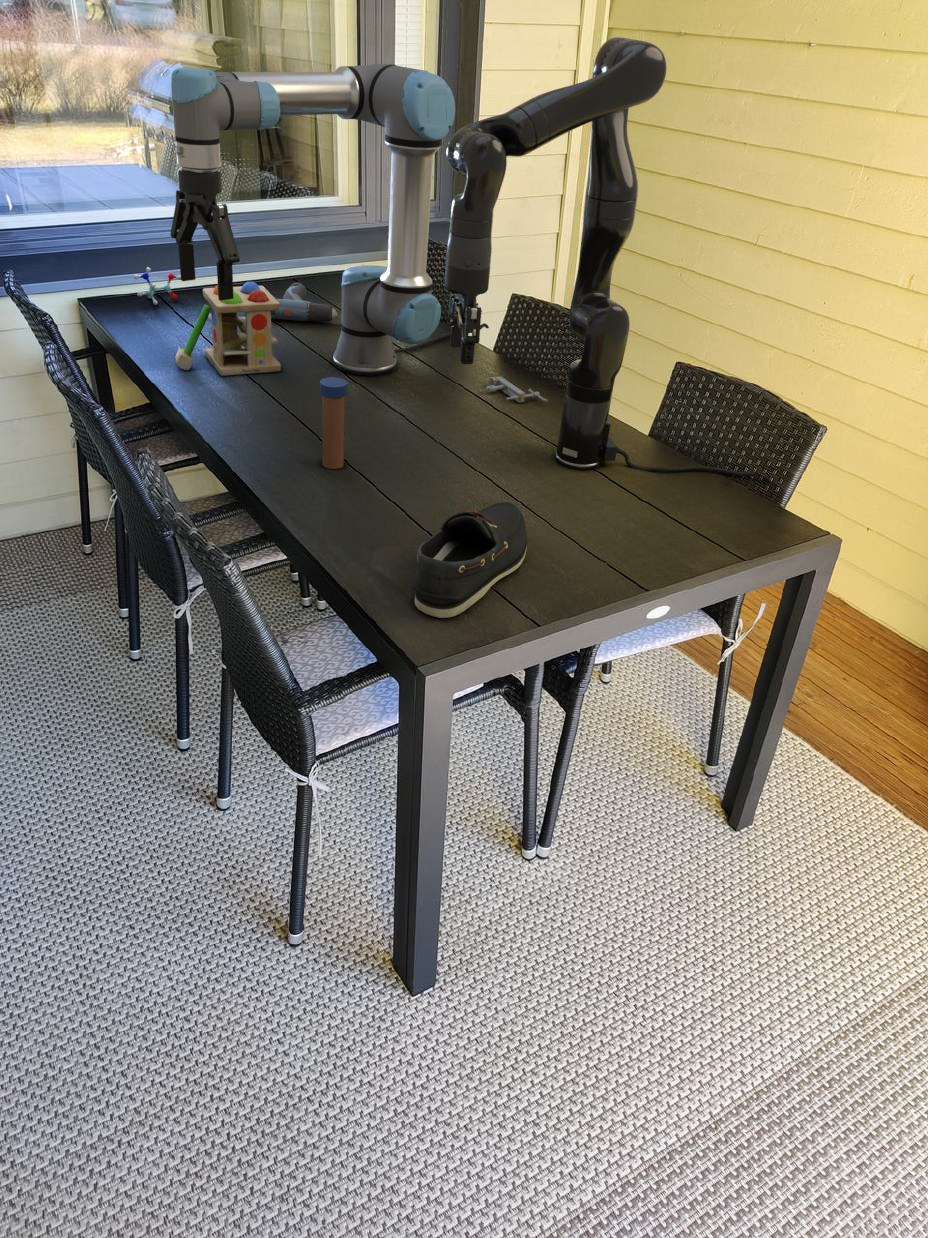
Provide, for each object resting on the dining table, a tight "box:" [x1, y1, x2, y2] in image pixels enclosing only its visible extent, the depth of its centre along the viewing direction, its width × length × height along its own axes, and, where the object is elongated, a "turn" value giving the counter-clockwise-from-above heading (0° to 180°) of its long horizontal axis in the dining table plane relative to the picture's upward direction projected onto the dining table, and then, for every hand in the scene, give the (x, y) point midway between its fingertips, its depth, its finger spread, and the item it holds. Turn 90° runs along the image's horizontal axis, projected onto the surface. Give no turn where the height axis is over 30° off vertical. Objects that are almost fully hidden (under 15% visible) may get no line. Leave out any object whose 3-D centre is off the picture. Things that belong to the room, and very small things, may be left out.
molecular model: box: [133, 266, 181, 306], centre depth 263 cm, size 12×10×10 cm
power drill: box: [271, 282, 338, 322], centre depth 265 cm, size 5×19×20 cm
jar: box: [321, 395, 346, 470], centre depth 187 cm, size 4×4×16 cm
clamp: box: [485, 376, 549, 404], centre depth 228 cm, size 15×2×10 cm
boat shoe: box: [412, 501, 528, 619], centre depth 161 cm, size 13×33×10 cm, turn 147°
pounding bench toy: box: [174, 281, 282, 377], centre depth 225 cm, size 23×14×18 cm, turn 116°
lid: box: [319, 376, 348, 398], centre depth 183 cm, size 5×5×2 cm
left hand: (206, 289), depth 186 cm, fingers open, 13 cm apart
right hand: (461, 354), depth 174 cm, fingers open, 8 cm apart
